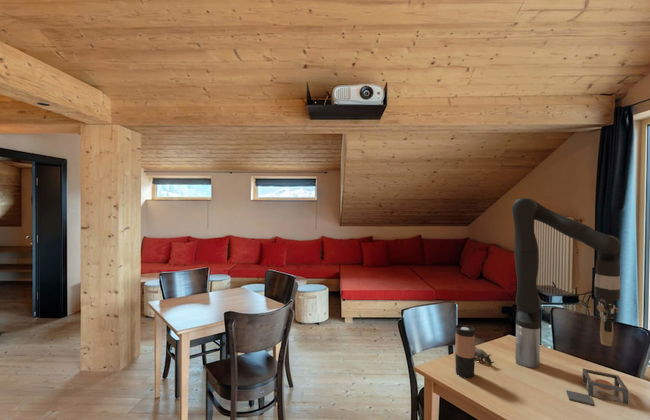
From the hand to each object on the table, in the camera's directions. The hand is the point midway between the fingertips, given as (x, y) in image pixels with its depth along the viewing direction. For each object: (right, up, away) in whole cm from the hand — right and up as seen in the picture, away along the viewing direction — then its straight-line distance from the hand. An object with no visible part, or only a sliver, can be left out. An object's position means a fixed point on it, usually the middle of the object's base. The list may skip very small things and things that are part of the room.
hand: (606, 329), depth 124 cm
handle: (0, -6, 0) cm, 6 cm away
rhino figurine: (-40, -23, +21) cm, 50 cm away
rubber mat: (-16, -23, -7) cm, 29 cm away
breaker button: (-4, -21, -3) cm, 21 cm away
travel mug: (-51, -23, +10) cm, 57 cm away
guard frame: (-4, -23, -3) cm, 24 cm away
